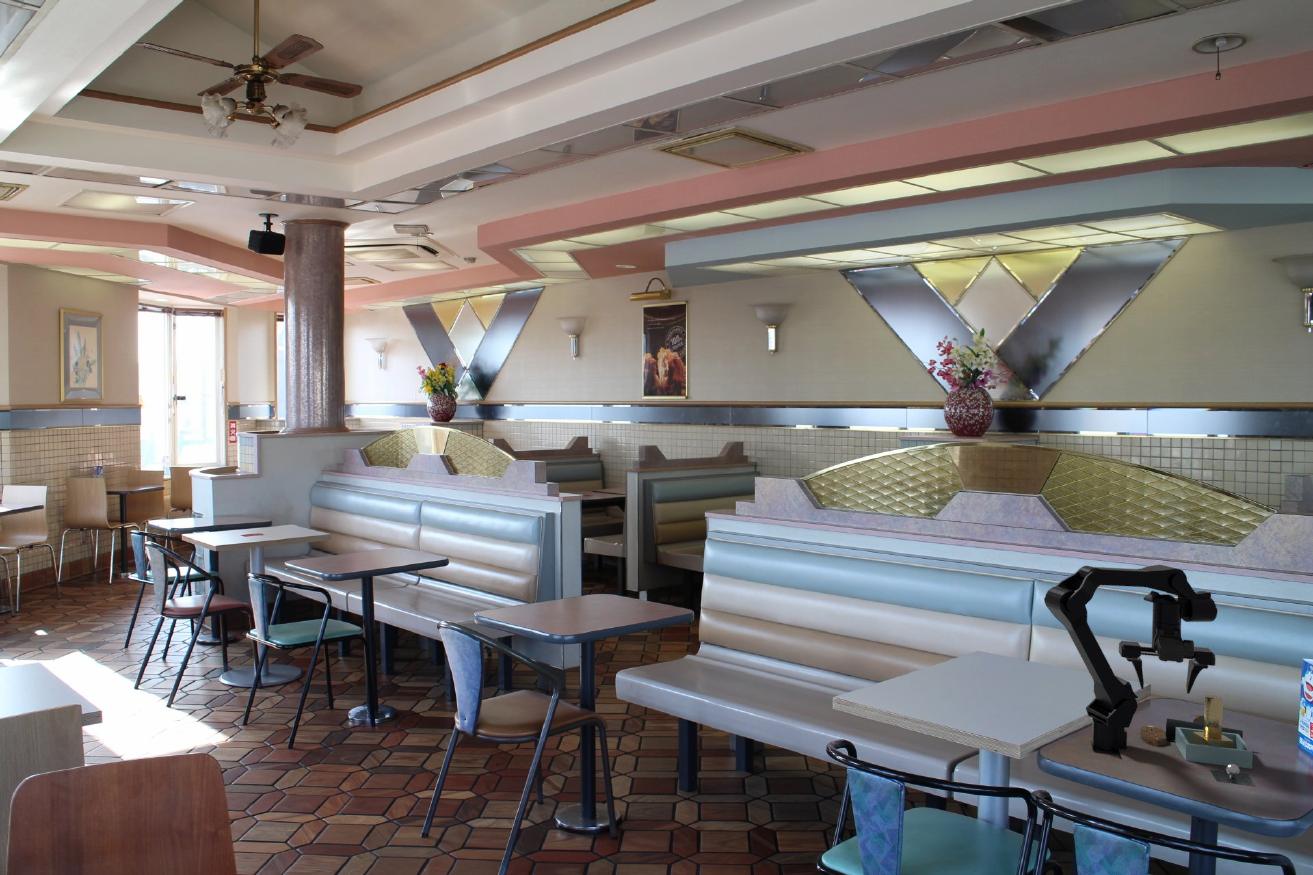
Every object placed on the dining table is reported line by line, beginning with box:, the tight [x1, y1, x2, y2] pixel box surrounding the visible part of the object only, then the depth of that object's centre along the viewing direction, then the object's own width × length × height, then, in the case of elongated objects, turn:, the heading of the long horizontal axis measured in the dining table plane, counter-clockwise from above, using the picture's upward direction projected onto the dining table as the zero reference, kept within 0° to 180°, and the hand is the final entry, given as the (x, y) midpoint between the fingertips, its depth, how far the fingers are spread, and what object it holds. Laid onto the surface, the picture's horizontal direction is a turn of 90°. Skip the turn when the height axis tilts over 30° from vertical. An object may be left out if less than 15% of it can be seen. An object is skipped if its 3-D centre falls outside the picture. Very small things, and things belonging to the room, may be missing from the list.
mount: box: [1209, 764, 1257, 787], centre depth 194 cm, size 7×7×4 cm
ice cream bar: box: [1139, 725, 1168, 747], centre depth 219 cm, size 5×4×15 cm
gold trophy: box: [1192, 694, 1233, 749], centre depth 207 cm, size 6×6×13 cm
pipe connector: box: [1165, 714, 1244, 741], centre depth 219 cm, size 12×5×15 cm
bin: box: [1174, 727, 1254, 770], centre depth 207 cm, size 12×12×4 cm
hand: (1164, 690), depth 214 cm, fingers open, 9 cm apart
